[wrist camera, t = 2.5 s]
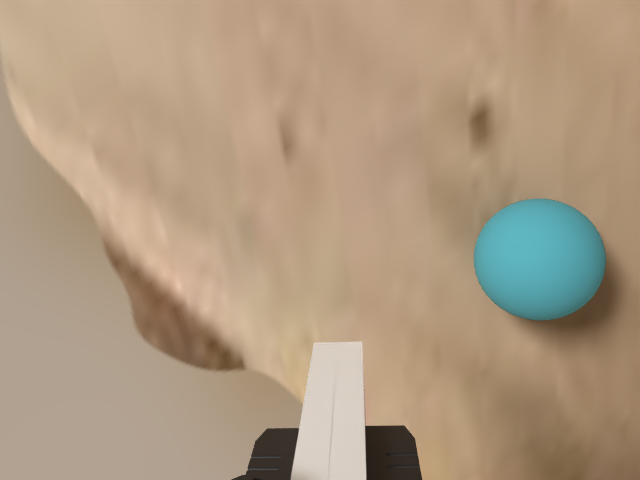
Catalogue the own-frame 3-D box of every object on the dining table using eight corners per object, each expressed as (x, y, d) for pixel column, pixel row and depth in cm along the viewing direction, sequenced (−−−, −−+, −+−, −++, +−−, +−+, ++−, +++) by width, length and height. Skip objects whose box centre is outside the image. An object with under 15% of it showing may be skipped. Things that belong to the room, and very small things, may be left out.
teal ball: (443, 226, 29) (465, 259, 23) (543, 167, 27) (592, 186, 22) (496, 312, 30) (529, 363, 24) (594, 259, 29) (654, 300, 23)
